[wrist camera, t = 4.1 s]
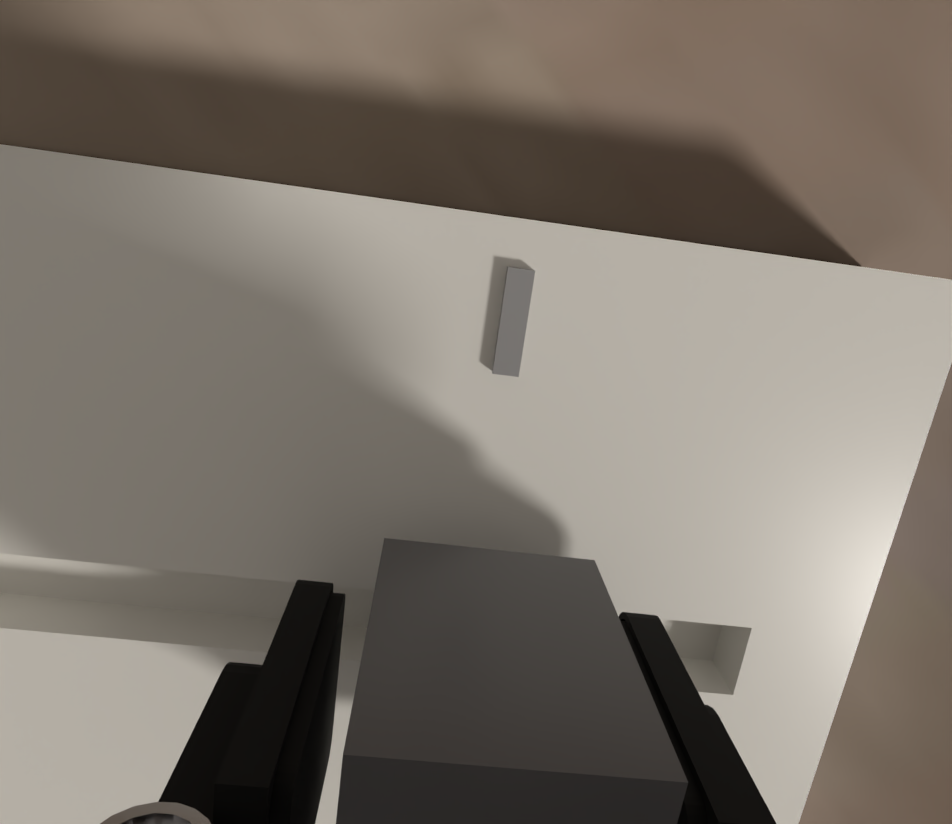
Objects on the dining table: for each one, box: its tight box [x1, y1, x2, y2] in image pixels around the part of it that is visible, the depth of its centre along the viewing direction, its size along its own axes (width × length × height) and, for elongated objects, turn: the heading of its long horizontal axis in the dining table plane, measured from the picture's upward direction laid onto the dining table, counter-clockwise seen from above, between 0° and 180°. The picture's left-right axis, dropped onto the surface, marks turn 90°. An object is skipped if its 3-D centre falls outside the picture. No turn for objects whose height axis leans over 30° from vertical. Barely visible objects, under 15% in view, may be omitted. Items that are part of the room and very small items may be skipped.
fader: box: [336, 538, 688, 824], centre depth 10 cm, size 5×3×6 cm, turn 172°
